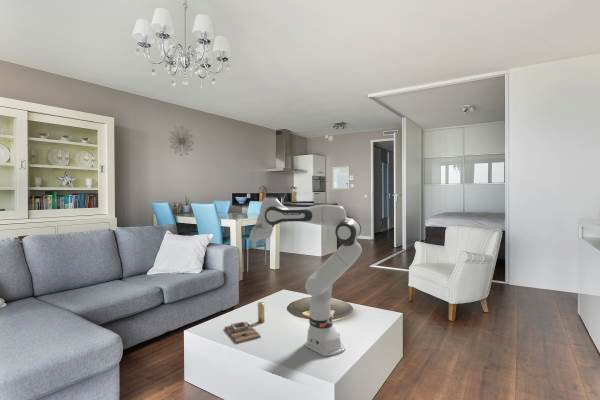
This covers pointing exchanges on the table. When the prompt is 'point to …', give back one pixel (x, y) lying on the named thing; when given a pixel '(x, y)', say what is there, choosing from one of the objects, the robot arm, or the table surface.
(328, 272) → the robot arm
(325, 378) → the table surface
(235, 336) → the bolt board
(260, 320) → the brass peg
